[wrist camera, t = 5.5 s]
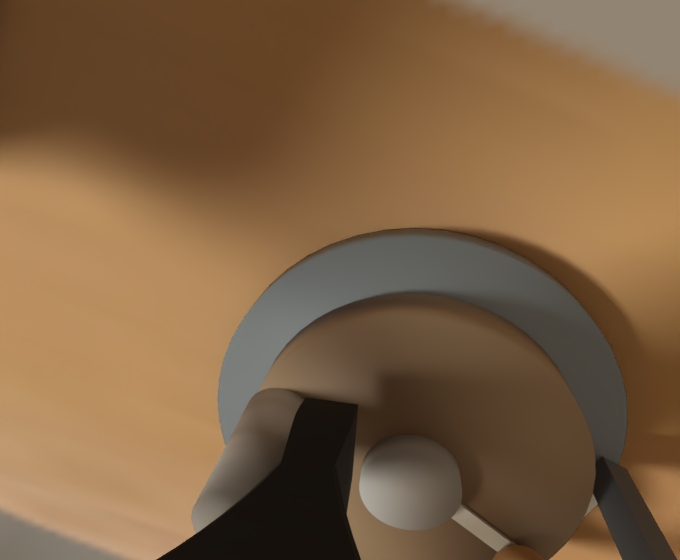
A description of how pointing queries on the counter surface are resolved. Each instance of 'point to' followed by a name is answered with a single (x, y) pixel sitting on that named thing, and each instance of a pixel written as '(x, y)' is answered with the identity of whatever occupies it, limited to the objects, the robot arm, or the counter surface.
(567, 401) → the capstan disc
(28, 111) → the counter surface
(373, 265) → the disc
